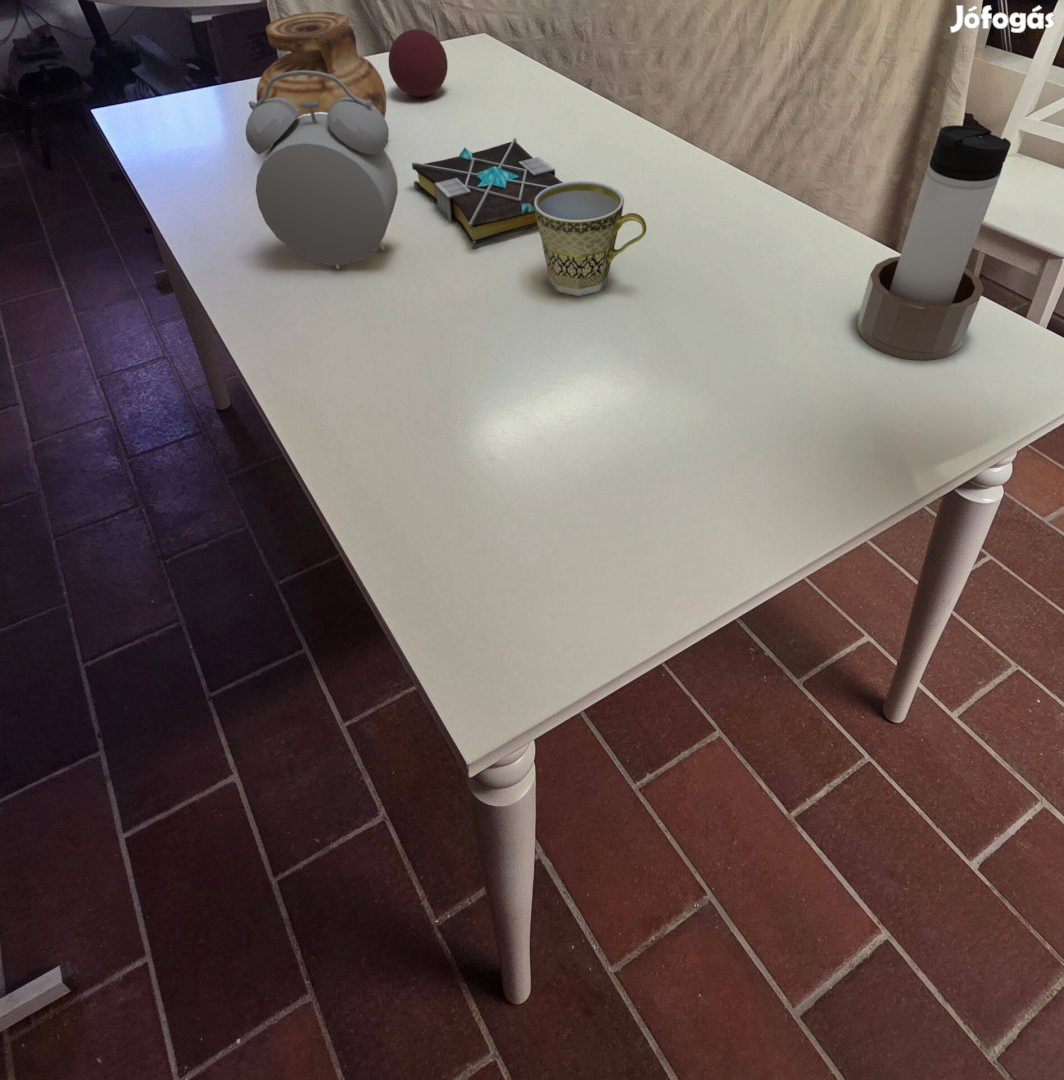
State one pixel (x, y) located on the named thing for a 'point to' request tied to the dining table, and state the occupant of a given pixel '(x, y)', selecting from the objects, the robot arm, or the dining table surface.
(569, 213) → the ceramic cup
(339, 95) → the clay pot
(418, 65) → the decorative ball
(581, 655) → the dining table surface
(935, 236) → the travel mug
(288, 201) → the alarm clock
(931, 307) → the holder
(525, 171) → the book
